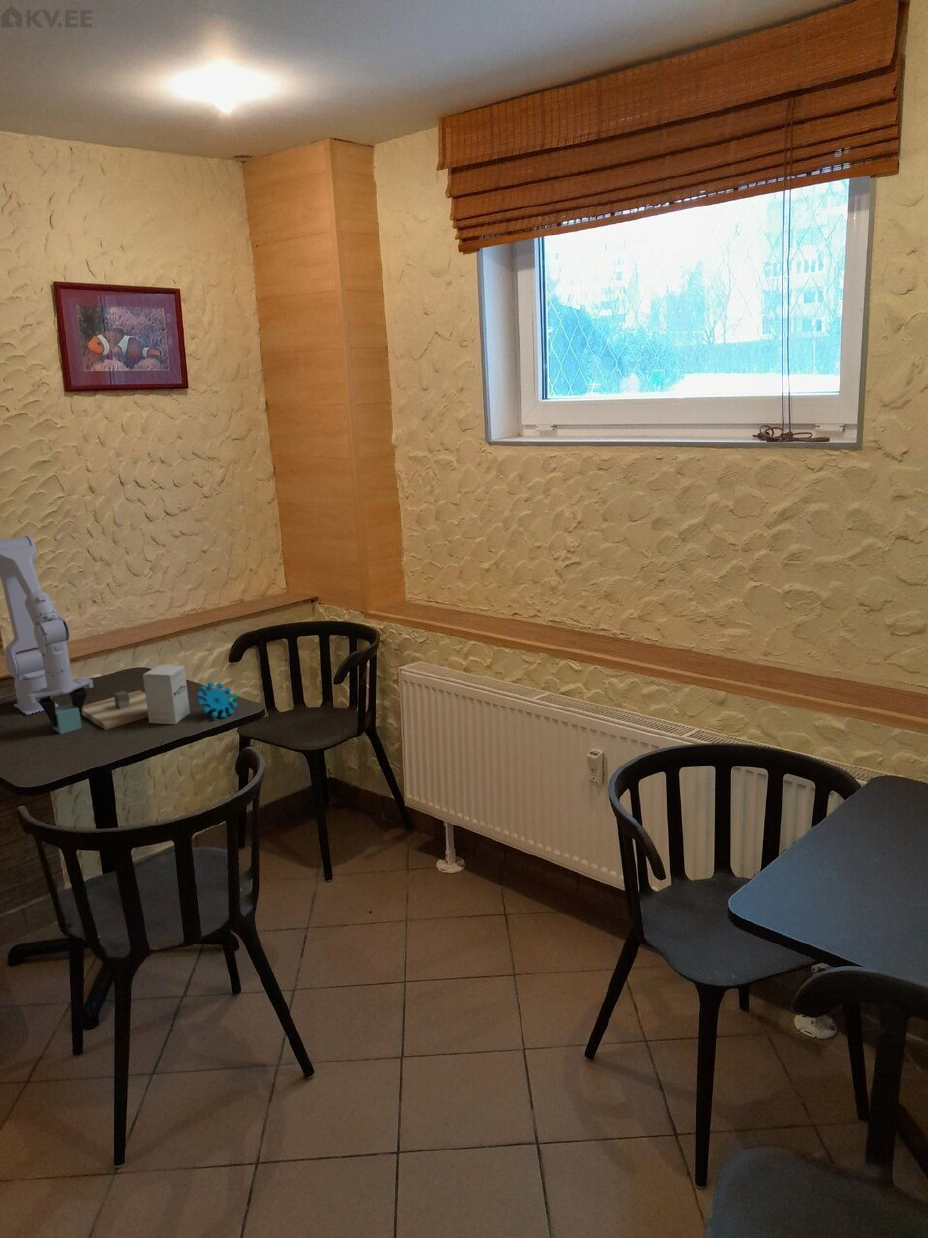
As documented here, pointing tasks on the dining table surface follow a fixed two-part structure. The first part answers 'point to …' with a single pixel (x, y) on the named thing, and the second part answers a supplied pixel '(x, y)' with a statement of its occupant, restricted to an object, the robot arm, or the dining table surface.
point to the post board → (117, 709)
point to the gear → (217, 700)
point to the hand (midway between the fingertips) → (66, 722)
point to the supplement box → (166, 694)
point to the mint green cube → (67, 718)
